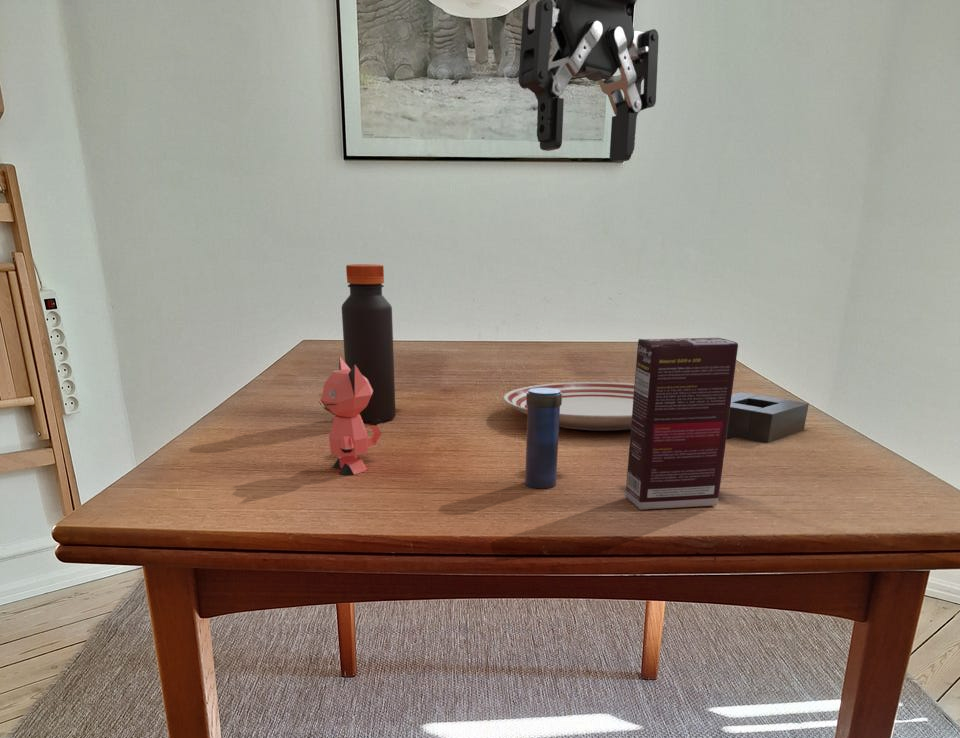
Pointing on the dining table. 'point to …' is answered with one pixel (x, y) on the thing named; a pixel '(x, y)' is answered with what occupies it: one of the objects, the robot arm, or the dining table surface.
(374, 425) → the cat figurine
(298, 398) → the dining table surface
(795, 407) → the holder
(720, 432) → the supplement box
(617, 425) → the dinner plate
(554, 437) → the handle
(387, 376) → the bottle
